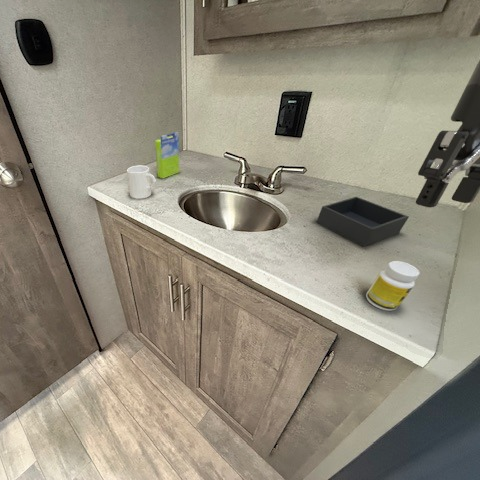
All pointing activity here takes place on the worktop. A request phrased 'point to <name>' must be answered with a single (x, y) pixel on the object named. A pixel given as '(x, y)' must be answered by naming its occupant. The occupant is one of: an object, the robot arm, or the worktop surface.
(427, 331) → the worktop surface
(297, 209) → the worktop surface
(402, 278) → the supplement bottle
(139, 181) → the mug
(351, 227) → the bin
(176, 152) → the box
